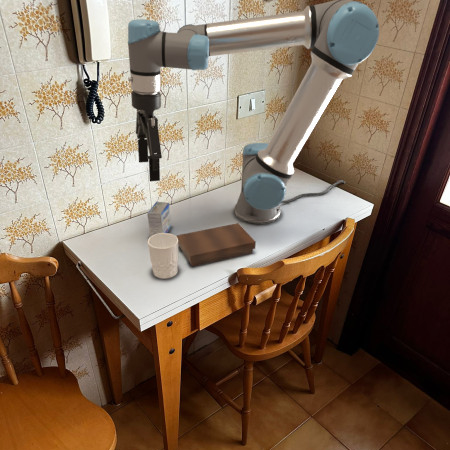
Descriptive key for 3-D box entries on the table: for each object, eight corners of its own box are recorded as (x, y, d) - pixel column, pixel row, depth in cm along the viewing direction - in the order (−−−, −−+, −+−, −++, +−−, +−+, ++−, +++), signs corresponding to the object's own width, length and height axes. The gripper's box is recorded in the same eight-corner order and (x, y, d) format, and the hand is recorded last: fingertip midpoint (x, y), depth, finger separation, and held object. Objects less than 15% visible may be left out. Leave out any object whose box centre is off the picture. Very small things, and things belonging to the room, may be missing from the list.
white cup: (147, 278, 119) (143, 246, 113) (156, 262, 125) (153, 231, 119) (175, 281, 118) (173, 250, 112) (183, 265, 124) (181, 234, 118)
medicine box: (163, 239, 135) (161, 214, 130) (149, 238, 136) (147, 212, 130) (171, 227, 141) (169, 202, 136) (157, 225, 142) (155, 200, 136)
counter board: (237, 234, 138) (238, 222, 136) (254, 253, 130) (255, 241, 127) (177, 247, 132) (176, 235, 129) (190, 268, 123) (190, 256, 121)
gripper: (121, 79, 121) (127, 155, 134) (142, 105, 103) (146, 190, 116) (149, 79, 123) (151, 154, 136) (173, 104, 105) (173, 188, 119)
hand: (149, 171), depth 126 cm, fingers open, 13 cm apart
